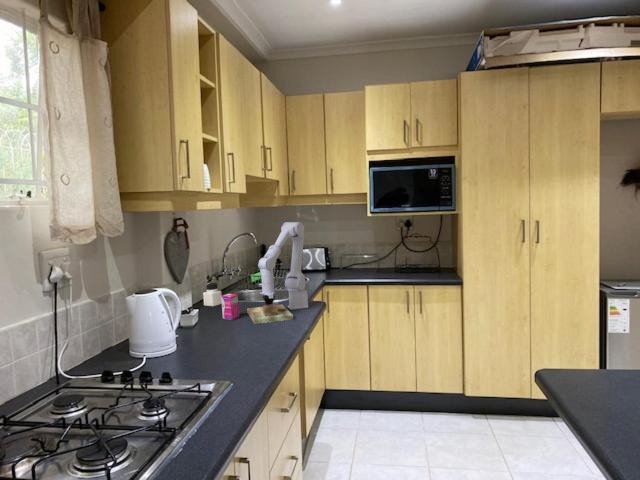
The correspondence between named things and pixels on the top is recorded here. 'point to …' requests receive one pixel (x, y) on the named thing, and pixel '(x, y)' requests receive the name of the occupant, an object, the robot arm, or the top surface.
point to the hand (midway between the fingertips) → (269, 310)
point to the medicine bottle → (212, 295)
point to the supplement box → (230, 306)
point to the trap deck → (259, 317)
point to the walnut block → (270, 310)
